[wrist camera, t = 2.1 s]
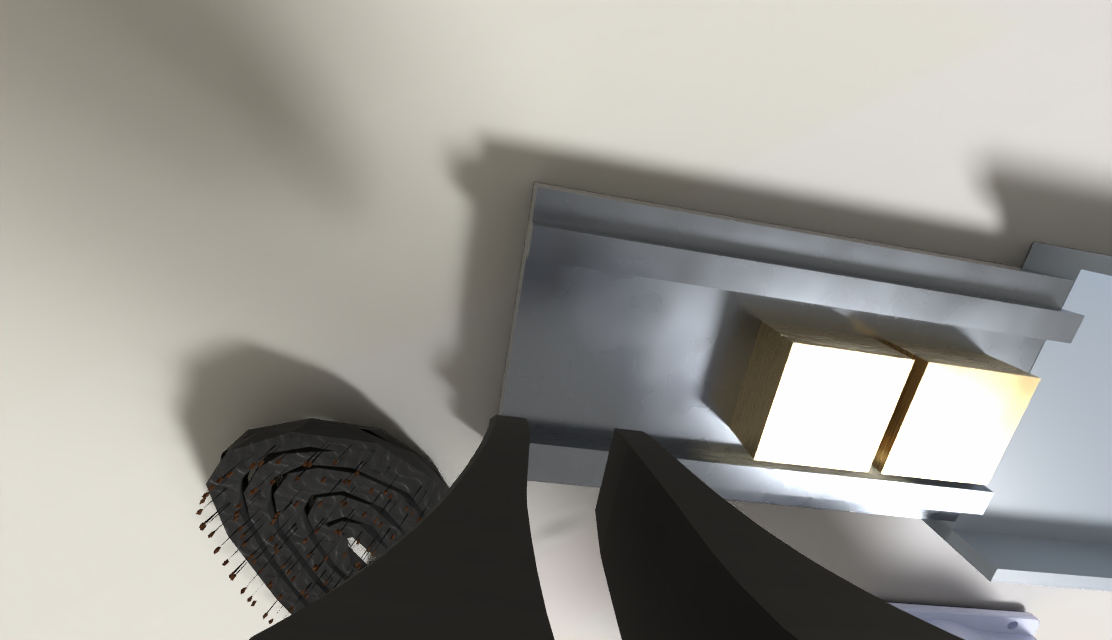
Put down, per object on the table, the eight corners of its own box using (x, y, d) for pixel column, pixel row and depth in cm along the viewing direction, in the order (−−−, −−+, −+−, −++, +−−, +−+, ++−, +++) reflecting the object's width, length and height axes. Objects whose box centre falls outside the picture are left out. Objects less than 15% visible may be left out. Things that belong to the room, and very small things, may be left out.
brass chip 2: (985, 354, 18) (1041, 378, 16) (940, 451, 19) (987, 484, 17) (884, 339, 18) (929, 362, 16) (844, 440, 19) (881, 473, 17)
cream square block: (871, 337, 18) (914, 360, 16) (831, 439, 19) (867, 471, 17) (762, 320, 17) (793, 342, 15) (728, 427, 18) (754, 459, 16)
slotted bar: (1019, 267, 19) (1100, 286, 17) (917, 490, 22) (971, 536, 20) (534, 182, 17) (539, 189, 14) (492, 445, 20) (490, 491, 17)
